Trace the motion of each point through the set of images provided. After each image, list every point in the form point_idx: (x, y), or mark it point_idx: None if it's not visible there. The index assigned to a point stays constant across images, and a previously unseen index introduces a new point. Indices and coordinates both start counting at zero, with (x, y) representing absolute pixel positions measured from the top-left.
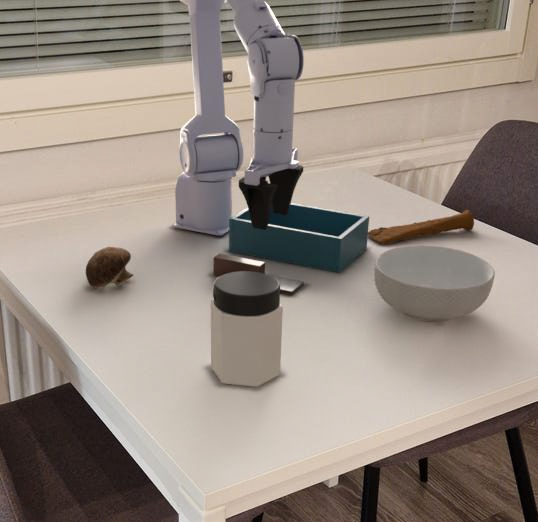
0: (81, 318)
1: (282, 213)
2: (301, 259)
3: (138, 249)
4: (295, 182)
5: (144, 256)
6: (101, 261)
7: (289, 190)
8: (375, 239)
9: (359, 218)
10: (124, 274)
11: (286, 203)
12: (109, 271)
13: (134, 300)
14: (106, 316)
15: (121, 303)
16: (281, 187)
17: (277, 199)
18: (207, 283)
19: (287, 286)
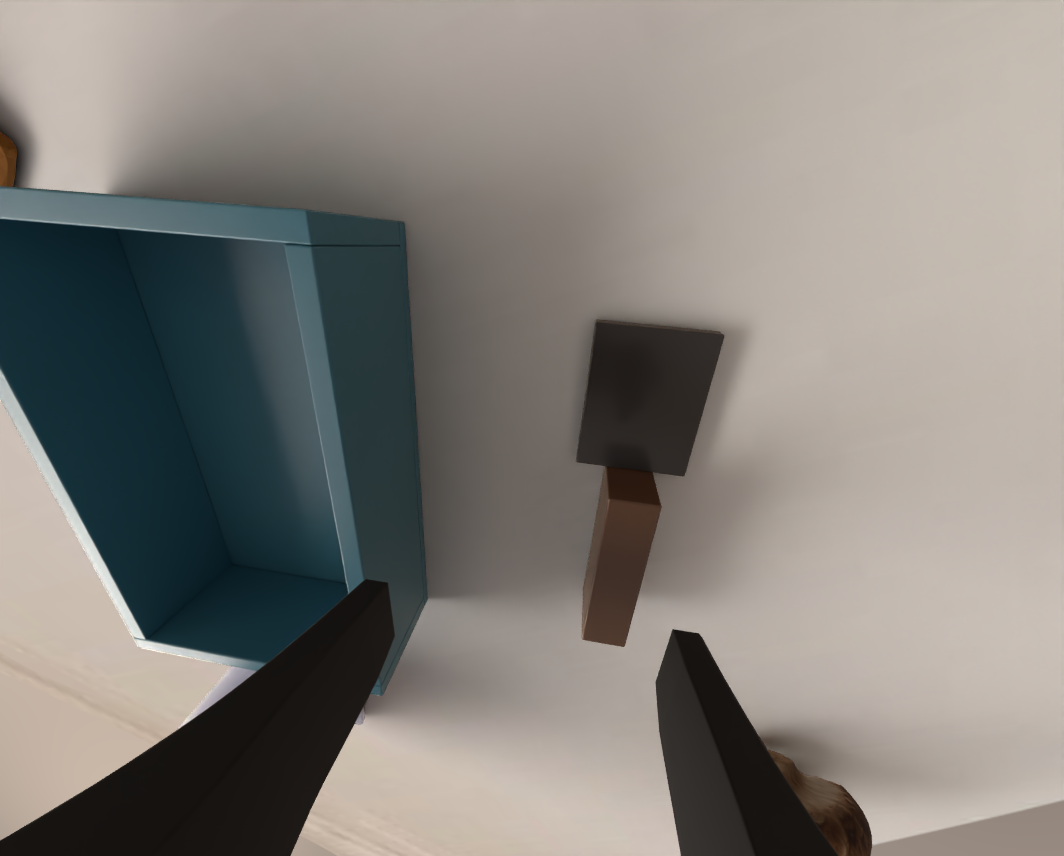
0: (1004, 770)
1: (387, 604)
2: (406, 396)
3: (522, 746)
4: (135, 814)
5: (557, 732)
6: None
7: (260, 748)
8: (7, 184)
9: None
10: (789, 776)
11: (344, 647)
12: (869, 830)
13: (859, 708)
14: (988, 736)
15: (886, 725)
16: (268, 809)
17: (342, 709)
18: (685, 595)
19: (672, 368)
